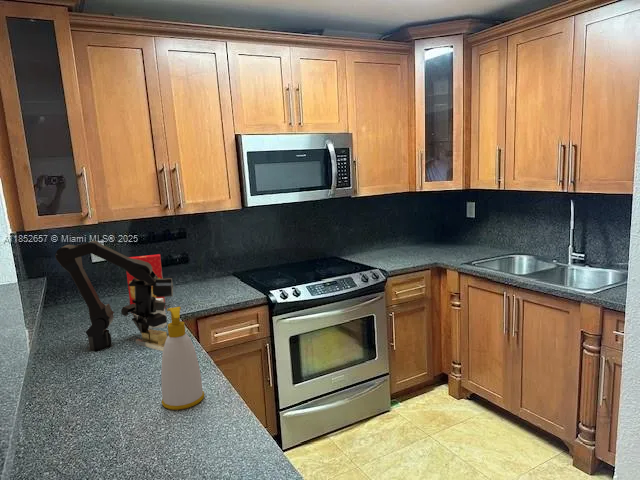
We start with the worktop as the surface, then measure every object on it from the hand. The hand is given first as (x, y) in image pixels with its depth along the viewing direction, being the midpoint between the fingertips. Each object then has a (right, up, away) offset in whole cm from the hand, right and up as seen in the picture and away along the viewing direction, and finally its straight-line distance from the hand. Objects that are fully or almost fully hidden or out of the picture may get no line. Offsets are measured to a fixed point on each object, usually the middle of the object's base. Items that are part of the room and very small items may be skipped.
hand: (144, 336), depth 163 cm
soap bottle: (+28, -8, -44) cm, 53 cm away
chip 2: (+7, -2, -4) cm, 8 cm away
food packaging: (-15, +3, +42) cm, 44 cm away
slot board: (+7, -2, -4) cm, 8 cm away
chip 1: (+3, -2, -2) cm, 4 cm away
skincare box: (-1, 0, +15) cm, 15 cm away
